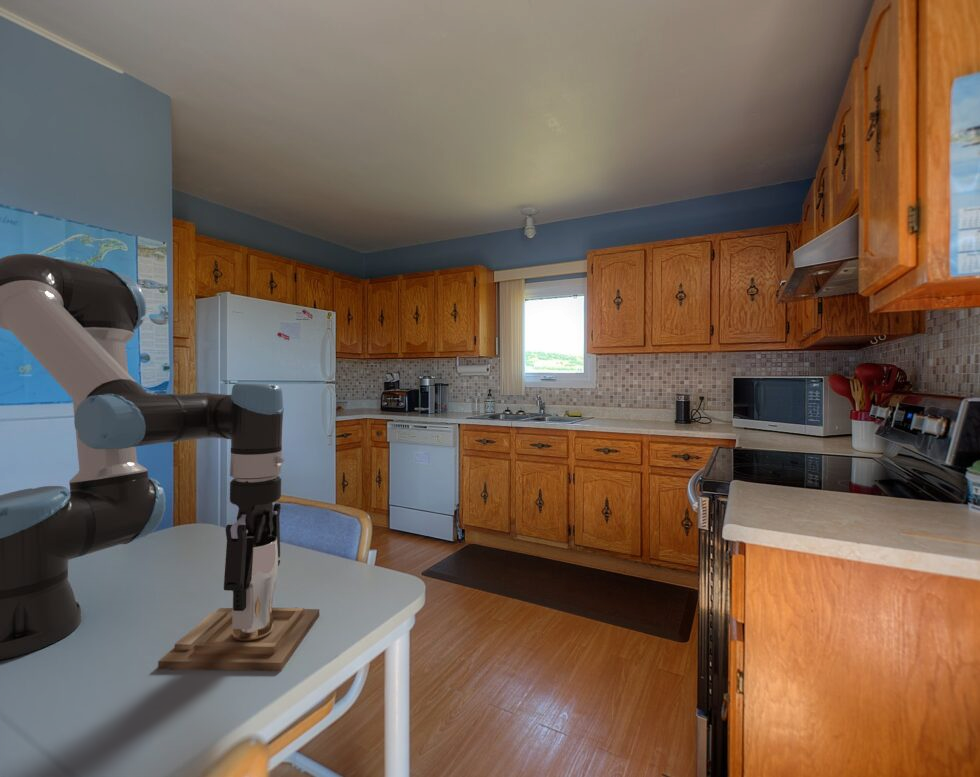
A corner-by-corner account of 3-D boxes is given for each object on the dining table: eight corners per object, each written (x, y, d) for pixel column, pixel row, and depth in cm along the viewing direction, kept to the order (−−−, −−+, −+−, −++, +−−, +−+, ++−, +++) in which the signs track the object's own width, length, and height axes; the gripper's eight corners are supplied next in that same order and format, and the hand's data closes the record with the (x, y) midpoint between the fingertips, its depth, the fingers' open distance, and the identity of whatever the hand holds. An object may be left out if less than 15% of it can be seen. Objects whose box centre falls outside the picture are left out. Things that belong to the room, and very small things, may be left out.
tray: (158, 669, 67) (158, 653, 67) (220, 614, 83) (220, 601, 83) (281, 670, 68) (281, 654, 68) (319, 615, 84) (319, 602, 84)
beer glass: (257, 645, 72) (259, 549, 71) (218, 639, 73) (220, 545, 73) (285, 622, 78) (287, 535, 78) (250, 617, 80) (251, 532, 80)
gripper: (249, 491, 66) (246, 651, 66) (302, 466, 85) (299, 590, 85) (196, 490, 66) (193, 650, 66) (261, 465, 85) (259, 589, 85)
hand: (253, 616), depth 76 cm, fingers closed on beer glass, 6 cm apart
